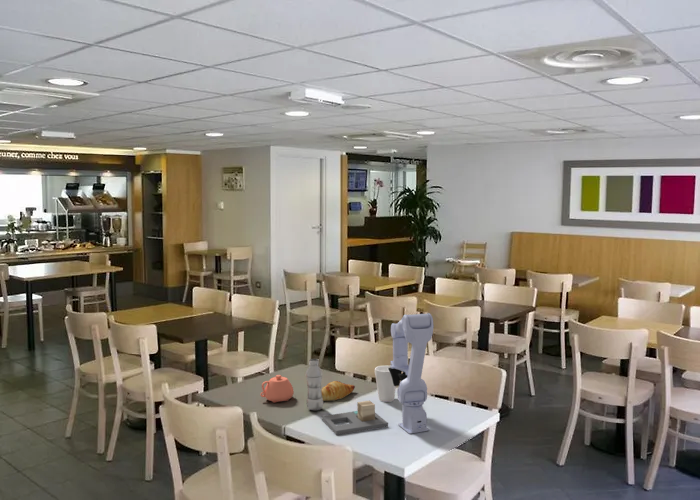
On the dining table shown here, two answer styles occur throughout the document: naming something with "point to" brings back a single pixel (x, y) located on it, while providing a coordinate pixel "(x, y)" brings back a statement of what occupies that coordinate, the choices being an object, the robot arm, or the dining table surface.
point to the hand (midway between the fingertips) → (400, 388)
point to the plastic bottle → (314, 385)
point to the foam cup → (384, 384)
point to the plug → (366, 411)
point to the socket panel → (352, 423)
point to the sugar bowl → (277, 389)
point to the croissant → (336, 390)
